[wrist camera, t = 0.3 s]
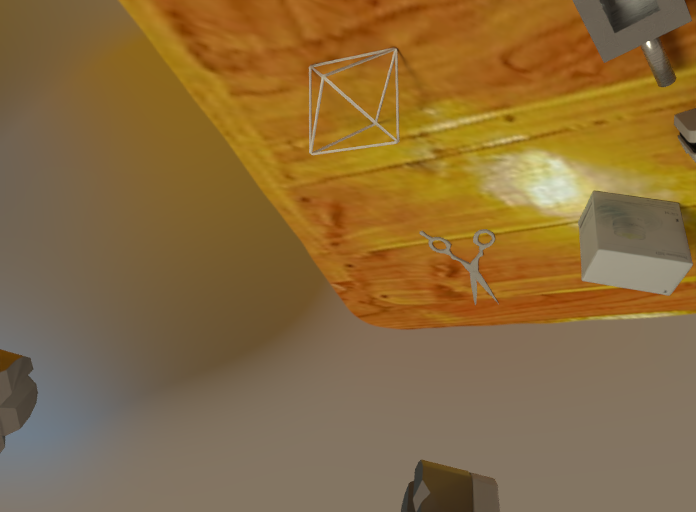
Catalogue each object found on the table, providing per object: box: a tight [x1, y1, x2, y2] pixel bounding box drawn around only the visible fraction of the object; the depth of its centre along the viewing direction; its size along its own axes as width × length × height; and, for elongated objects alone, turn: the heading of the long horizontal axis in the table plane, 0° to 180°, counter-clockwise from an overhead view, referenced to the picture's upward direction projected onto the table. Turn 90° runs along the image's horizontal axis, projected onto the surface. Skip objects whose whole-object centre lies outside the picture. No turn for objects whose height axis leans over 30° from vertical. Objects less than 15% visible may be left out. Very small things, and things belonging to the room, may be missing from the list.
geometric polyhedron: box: [309, 48, 399, 155], centre depth 61 cm, size 12×11×9 cm
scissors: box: [420, 229, 499, 305], centre depth 85 cm, size 11×1×20 cm
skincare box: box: [578, 191, 693, 295], centre depth 67 cm, size 10×6×10 cm, turn 91°
